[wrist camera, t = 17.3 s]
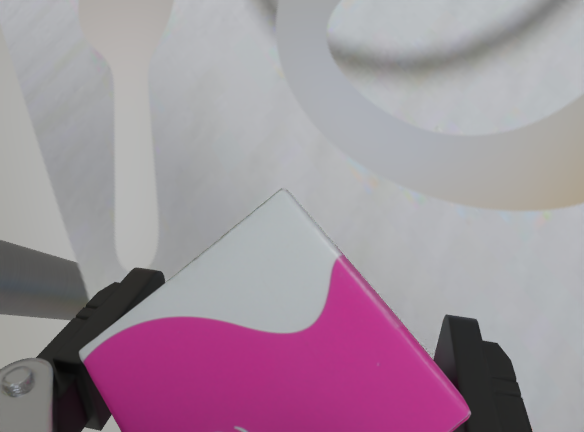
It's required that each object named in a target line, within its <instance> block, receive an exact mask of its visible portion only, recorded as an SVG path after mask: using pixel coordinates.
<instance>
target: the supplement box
mask: <svg viewBox="0 0 584 432" xmlns="http://www.w3.org/2000/svg"><path fill="white" fill-rule="evenodd" d="M79 356H80V359H81V361H82V362H83V364H84V365H85V367H86V369H87V371H88V373H89V375H90V377H91V378H92V380H93V382H94V384H95V386H96V387H97V389H98V391H99V392H100V394H101V396H102V398H103V400H104V401H105V403H106V405H107V407H108V408H109V410H110V412H111V414H112V415H113V417H114V419H115V421H116V422H117V424H118V426H119V428H120V430H121V432H453V431H454V430H455V429H456V428H458V427H459V426H460V425H461V424H462V423H464V422H465V421H466V420H468V419H469V417H470V415H471V412H470V409H469V407H468V405H467V403H466V402H465V400H464V398H463V396H462V395H461V394H460V393H459V391H458V390H457V389H456V388H455V386H454V385H453V384H452V383H451V381H450V380H449V379H448V378H447V376H446V375H445V374H444V373H443V371H442V370H441V369H440V368H439V366H438V365H437V364H436V363H435V362H434V360H433V359H432V358H431V357H430V356H429V354H428V353H427V352H426V351H425V350H424V348H423V347H422V346H421V345H420V344H419V342H418V341H417V340H416V339H415V338H414V336H413V335H412V334H411V333H410V332H409V331H408V329H407V328H406V327H405V326H404V325H403V323H402V322H401V321H400V320H399V319H398V317H397V316H396V315H395V314H394V313H393V311H392V310H391V309H390V308H389V307H388V306H387V304H386V303H385V302H384V301H383V300H382V299H381V297H380V296H379V295H378V294H377V293H376V292H375V290H374V289H373V288H372V287H371V286H370V285H369V283H368V282H367V281H366V280H365V279H364V278H363V276H362V275H361V274H360V273H359V272H358V271H357V269H356V268H355V267H354V266H353V265H352V264H351V263H350V261H349V260H348V259H347V258H346V257H345V256H344V255H343V253H342V252H341V251H340V250H339V249H338V247H337V246H336V245H335V244H334V243H333V242H332V241H331V240H330V238H329V237H328V236H327V235H326V234H325V232H324V231H323V230H322V229H321V228H320V227H319V225H318V224H317V223H316V222H315V221H314V220H313V219H312V217H311V216H310V215H309V214H308V212H307V211H306V210H305V209H304V208H303V207H302V206H301V205H300V203H299V202H298V201H297V200H296V199H295V198H294V196H293V195H292V194H291V193H290V192H289V191H288V190H286V189H280V190H279V191H278V192H276V193H275V194H274V195H273V196H272V197H270V198H269V199H268V200H267V201H265V202H264V203H263V204H261V205H260V206H259V207H258V208H257V209H256V210H254V211H253V212H252V213H251V214H250V215H248V216H247V217H246V218H245V219H243V220H242V221H241V222H240V223H238V224H237V225H236V226H235V227H233V228H232V229H231V230H230V231H228V232H227V233H226V234H225V235H224V236H222V237H221V238H220V239H219V240H218V241H216V242H215V243H214V244H213V245H211V246H210V247H209V248H208V249H206V250H205V251H204V252H203V253H201V254H200V255H199V256H198V257H196V258H195V259H194V260H193V261H192V262H190V263H189V264H188V265H187V266H185V267H184V268H183V269H182V270H180V271H179V272H178V273H177V274H176V275H174V276H173V277H172V278H171V279H169V280H168V281H167V282H166V283H165V284H163V285H162V286H161V287H160V288H158V289H157V290H156V291H155V292H153V293H152V294H151V295H150V296H148V297H147V298H146V299H144V300H143V301H142V302H141V303H139V304H138V305H137V306H135V307H134V308H133V309H132V310H130V311H129V312H128V313H127V314H125V315H124V316H123V317H121V318H120V319H119V320H118V321H116V322H115V323H114V324H112V325H111V326H110V327H109V328H107V329H106V330H105V331H103V332H102V333H101V334H100V335H99V336H98V337H96V338H95V339H94V340H92V341H91V342H90V343H88V344H87V345H86V346H84V347H83V348H82V349H81V350H80V351H79Z"/></svg>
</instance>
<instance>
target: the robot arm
mask: <svg viewBox="0 0 584 432" xmlns="http://www.w3.org/2000/svg"><path fill="white" fill-rule="evenodd" d="M163 284H165V278H164V275H163V273H162V272H161V271H157V270H150V269H143V268H134V269H133V270H131V271H130V273H129V274H128V275H127V276H126V277H125V278H124V279H123V280H122V281H121V283H118V282H114V283H113V284H111V285H109V286H108V287H106V288H104V289H103V290H101V291H99V292H98V293H97V294H96V295H95V296H94V297H93V298H92V299H91V300H90V301H89V302H88V303H87V304H86V307H85V308H83V309H82V310H81V311H80V312H79V313H78V314H77V315H76V318H73V319H72V320H71V321H70V322H69V323H68V324H67V326H66V327H65V328H64V329H63V330H62V331H61V332H60V333H59V334H58V335H57V336H56V337H55V338H54V339H53V340H52V341H51V343H49V344H48V346H47V347H46V348H45V349H44V350H43V351H42V352H41V353H40V354H39V355H38V356H37V357H36V358H27V359H22V360H19V361H16V362H13V363H11V364H9V365H7V366H5V367H4V368H2V369H0V432H81V431H82V430H83V428H84V427H86V428H91V429H96V430H100V431H101V430H102V429H103V427H104V425H105V424H106V422H107V421H108V419H109V418H110V416H111V415H112V414H111V412H110V410H109V408H108V407H107V405H106V403H105V401H104V400H103V398H102V396H101V394H100V392H99V391H98V389H97V387H96V386H95V384H94V382H93V380H92V378H91V377H90V375H89V373H88V371H87V369H86V367H85V365H84V364H83V362H82V361H81V359H80V356H79V351H80V350H81V349H82V348H83V347H84V346H86V345H87V344H88V343H90V342H91V341H92V340H94V339H95V338H96V337H98V336H99V335H100V334H101V333H102V332H103V331H105V330H106V329H107V328H109V327H110V326H111V325H112V324H114V323H115V322H116V321H118V320H119V319H120V318H121V317H123V316H124V315H125V314H127V313H128V312H129V311H130V310H132V309H133V308H134V307H135V306H137V305H138V304H139V303H141V302H142V301H143V300H144V299H146V298H147V297H148V296H150V295H151V294H152V293H153V292H155V291H156V290H157V289H158V288H160V287H161V286H162V285H163ZM434 362H435V363H436V364H437V365H438V366H439V368H440V369H441V370H442V371H443V373H444V374H445V375H446V376H447V378H448V379H449V380H450V381H451V383H452V384H453V385H454V386H455V388H456V389H457V390H458V391H459V393H460V394H461V395H462V396H463V398H464V400H465V402H466V403H467V405H468V407H469V409H470V412H471V415H470V417H469V419H468V420H466V421H465V422H464V423H462V424H461V425H460V426H459V427H458V428H456V429H455V430H454V431H453V432H532V429H531V425H530V422H529V419H528V415H527V412H526V409H525V405H524V402H523V399H522V398H521V392H520V389H519V386H518V382H516V376H515V372H514V369H513V366H512V362H511V360H510V359H509V357H508V356H507V355H506V353H505V352H504V351H503V350H502V348H501V347H500V346H499V345H498V343H494V342H487V341H482V337H481V333H480V329H479V325H478V321H477V320H476V319H472V318H466V317H459V316H452V315H445V317H444V320H443V323H442V327H441V331H440V335H439V339H438V343H437V348H436V352H435V356H434Z"/></svg>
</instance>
